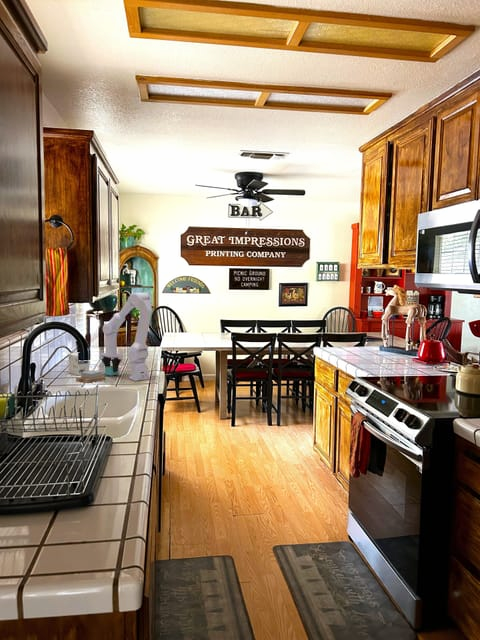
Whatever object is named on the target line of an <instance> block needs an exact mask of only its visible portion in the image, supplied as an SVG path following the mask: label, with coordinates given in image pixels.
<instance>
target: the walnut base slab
mask: <svg viewBox="0 0 480 640" xmlns="http://www.w3.org/2000/svg"><path fill="white" fill-rule="evenodd" d="M102 380H104V381H106V375H102V377H98V378H93V379H88V378H82V377H81V376H78V377H75V382H78V383H82V384H83V383H84V384H89V383H91V384H94V383H93V382H95V383H98V382H97V381H99V382H103V381H102Z"/></svg>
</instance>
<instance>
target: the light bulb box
mask: <svg viewBox="0 0 480 640" xmlns="http://www.w3.org/2000/svg"><path fill="white" fill-rule="evenodd" d="M78 353H79V352H73V353H72V352H69V353H68V355H67V356H68V373H69V374H72V375H76V376H81V372H86V371H90V360H89V361H79V360H78Z"/></svg>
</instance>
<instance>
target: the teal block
mask: <svg viewBox="0 0 480 640" xmlns="http://www.w3.org/2000/svg"><path fill="white" fill-rule="evenodd" d="M115 375H119V367H118V371H117V372H113V365H110V366H107V367H105V366H104V376H115Z"/></svg>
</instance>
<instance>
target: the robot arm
mask: <svg viewBox="0 0 480 640" xmlns="http://www.w3.org/2000/svg"><path fill="white" fill-rule="evenodd" d="M152 299H153V298H152V297H151V295H150V294H149V293H148V292H132V293H131V294H130V295H129V296H128V297H127V301H126V303H125V304H124V305H123V307H122V308H121V309H120V311H119V312H116V313H114V314H113V316H112V317H111V319H110V320H108V322H107V323H104V324H103V326H102V332H103V334H104V337H105V340H104V341H105V342H104V343H105V352H102V353H100V355H99V356H100V359H101V362H102V363H103V365H104V368H105V367H107V366H111V364H112V366H113V372H117V371H118V367H119V366H120V364H121V361H122V360H123V358H124V356H123V355H124V354H119V353H118V352H117V351H118V347H117V346H118V345H117V344H118V343H117V342H118V341H117V340H118V339H117V337H118V333H119V331H120V329H119V328H120V327H121V326H122V324H123V323H124V322H125V321H126V316H127V315H128V314H129V313H130V312H131V311H132V310H133V309H134V308H135V309H137V310H138V311H139V317H138V322H137V328H136V333H135V337H134V342H133V344H132V345H131V346H130V349H129V350H128V352H127V358H128V360H129V362H130V372H131V376H128V379H130V380H132V381H134V382H137V381H145V380H146V381H147V380H150V379H151V377H149V368H148V367H149V366H148V365H147V363H146V361H147V358H148V356H149V350H148V349H149V345H147V337H148V332H149V329H150V328H149V327H150V323H151V318H152V313H153V307H152Z"/></svg>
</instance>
